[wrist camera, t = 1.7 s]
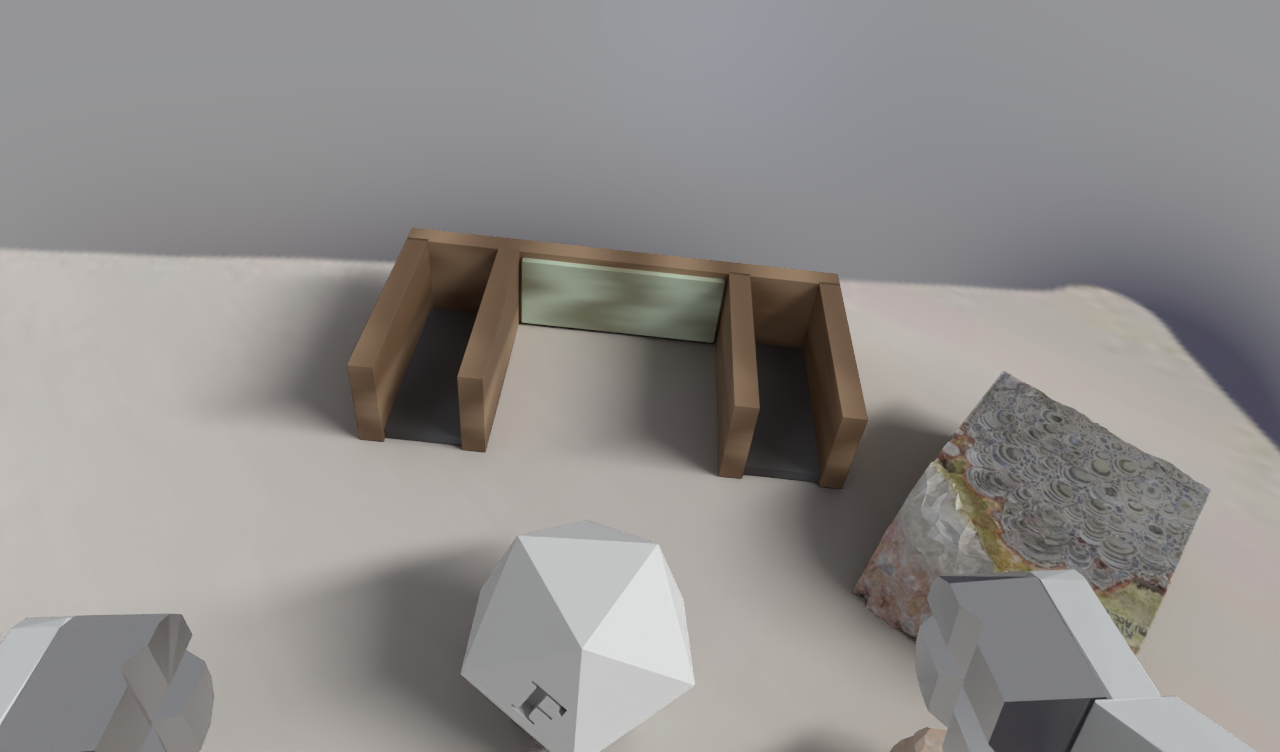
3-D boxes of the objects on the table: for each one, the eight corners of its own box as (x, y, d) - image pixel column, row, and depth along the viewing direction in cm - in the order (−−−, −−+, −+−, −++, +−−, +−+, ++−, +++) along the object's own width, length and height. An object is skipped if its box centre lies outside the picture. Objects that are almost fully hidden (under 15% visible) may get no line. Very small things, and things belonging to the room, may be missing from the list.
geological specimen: (1220, 471, 41) (1144, 678, 31) (1153, 551, 45) (1066, 757, 35) (1009, 361, 46) (884, 513, 36) (964, 443, 49) (840, 600, 40)
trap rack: (359, 439, 44) (346, 365, 41) (418, 297, 53) (412, 227, 50) (841, 488, 44) (868, 419, 41) (818, 340, 54) (837, 273, 50)
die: (440, 641, 37) (394, 674, 27) (571, 484, 38) (571, 464, 29) (588, 769, 36) (593, 848, 27) (715, 604, 38) (761, 624, 28)
